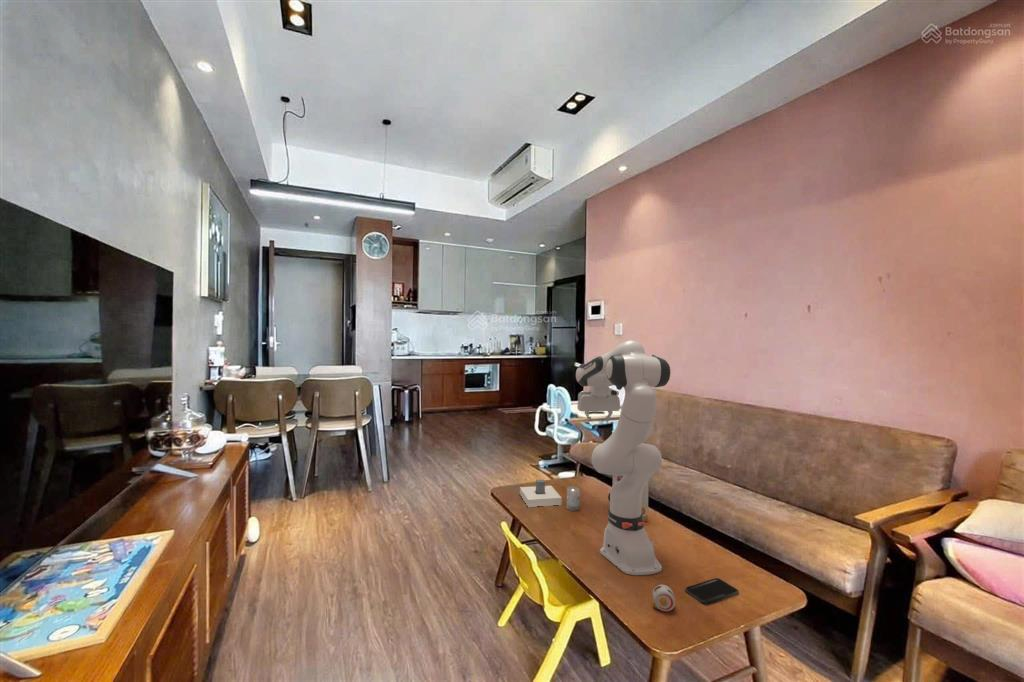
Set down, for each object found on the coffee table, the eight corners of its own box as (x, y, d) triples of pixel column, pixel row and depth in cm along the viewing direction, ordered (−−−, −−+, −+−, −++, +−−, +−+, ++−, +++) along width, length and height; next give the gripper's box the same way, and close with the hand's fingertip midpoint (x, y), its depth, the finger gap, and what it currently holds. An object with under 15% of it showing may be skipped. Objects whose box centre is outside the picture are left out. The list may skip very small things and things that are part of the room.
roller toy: (676, 615, 113) (677, 594, 113) (652, 611, 115) (653, 590, 115) (674, 605, 118) (674, 585, 118) (650, 601, 119) (651, 581, 119)
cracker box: (642, 516, 178) (643, 468, 178) (648, 522, 172) (649, 472, 172) (611, 517, 176) (612, 468, 176) (616, 523, 170) (617, 473, 170)
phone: (683, 588, 125) (717, 577, 131) (683, 591, 125) (717, 580, 131) (705, 603, 117) (740, 591, 124) (705, 607, 117) (740, 595, 124)
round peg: (580, 510, 182) (581, 490, 182) (569, 511, 181) (569, 491, 181) (576, 505, 188) (576, 486, 188) (564, 506, 187) (565, 486, 187)
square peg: (544, 500, 192) (545, 481, 192) (537, 501, 192) (537, 482, 192) (542, 498, 196) (542, 479, 196) (535, 498, 195) (535, 479, 195)
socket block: (561, 505, 188) (561, 497, 188) (527, 507, 184) (528, 499, 184) (550, 492, 203) (551, 485, 203) (519, 494, 200) (519, 487, 200)
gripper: (580, 391, 185) (580, 422, 185) (622, 391, 189) (621, 421, 189) (575, 390, 191) (575, 419, 191) (615, 390, 195) (615, 418, 195)
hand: (598, 420), depth 190 cm, fingers open, 8 cm apart
